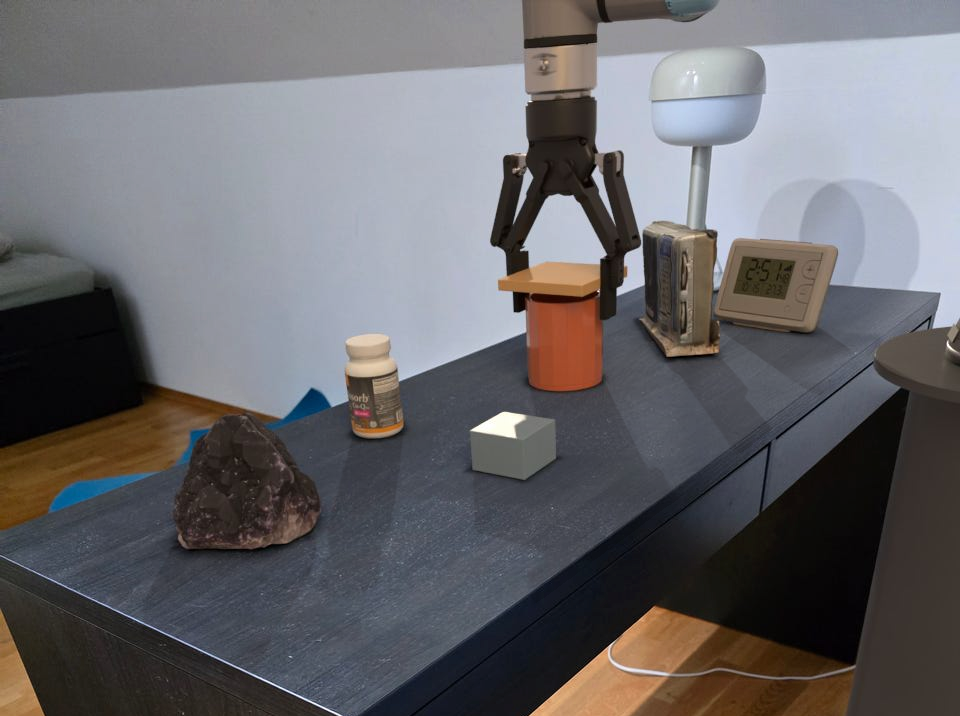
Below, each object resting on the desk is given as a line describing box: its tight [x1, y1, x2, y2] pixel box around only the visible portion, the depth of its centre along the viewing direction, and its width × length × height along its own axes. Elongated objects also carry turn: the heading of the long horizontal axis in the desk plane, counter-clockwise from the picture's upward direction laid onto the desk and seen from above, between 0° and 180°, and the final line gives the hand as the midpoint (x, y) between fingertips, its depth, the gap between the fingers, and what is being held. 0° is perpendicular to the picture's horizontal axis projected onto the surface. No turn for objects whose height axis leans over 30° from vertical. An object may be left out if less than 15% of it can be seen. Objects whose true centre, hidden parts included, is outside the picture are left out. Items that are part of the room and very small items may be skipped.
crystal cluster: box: [172, 412, 322, 550], centre depth 76 cm, size 13×14×10 cm
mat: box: [497, 261, 628, 297], centre depth 102 cm, size 11×11×1 cm
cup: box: [524, 289, 604, 392], centre depth 106 cm, size 9×9×10 cm
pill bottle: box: [344, 333, 404, 440], centre depth 94 cm, size 6×6×10 cm
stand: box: [469, 411, 557, 481], centre depth 85 cm, size 6×6×4 cm
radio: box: [638, 220, 721, 358], centre depth 117 cm, size 23×9×15 cm, turn 175°
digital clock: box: [713, 237, 839, 333], centre depth 121 cm, size 16×9×11 cm, turn 31°
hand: (563, 313), depth 104 cm, fingers closed on mat, 11 cm apart
